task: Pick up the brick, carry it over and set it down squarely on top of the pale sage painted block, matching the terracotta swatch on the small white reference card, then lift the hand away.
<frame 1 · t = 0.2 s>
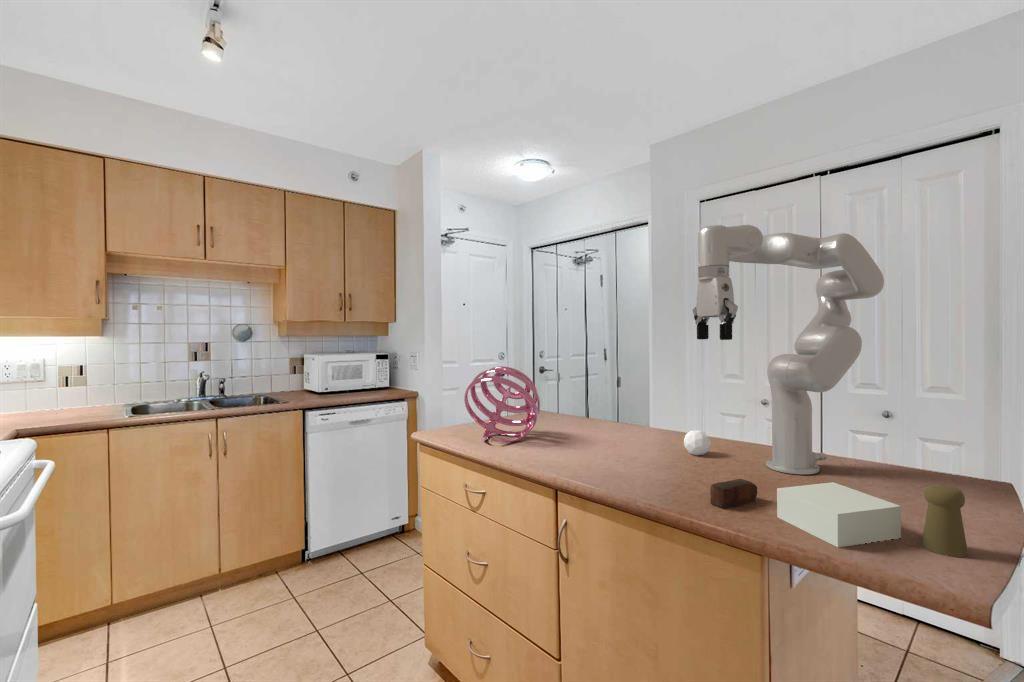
hand: (713, 339, 122), 36 cm above the countertop, tool pointing down, fingers open, 9 cm apart
cork: (944, 550, 81), on the countertop
brick: (734, 504, 105), on the countertop
ball: (697, 455, 145), on the countertop
spiral basket: (505, 439, 172), on the countertop
reference card: (825, 504, 102), on the countertop
sage block: (835, 527, 91), on the countertop
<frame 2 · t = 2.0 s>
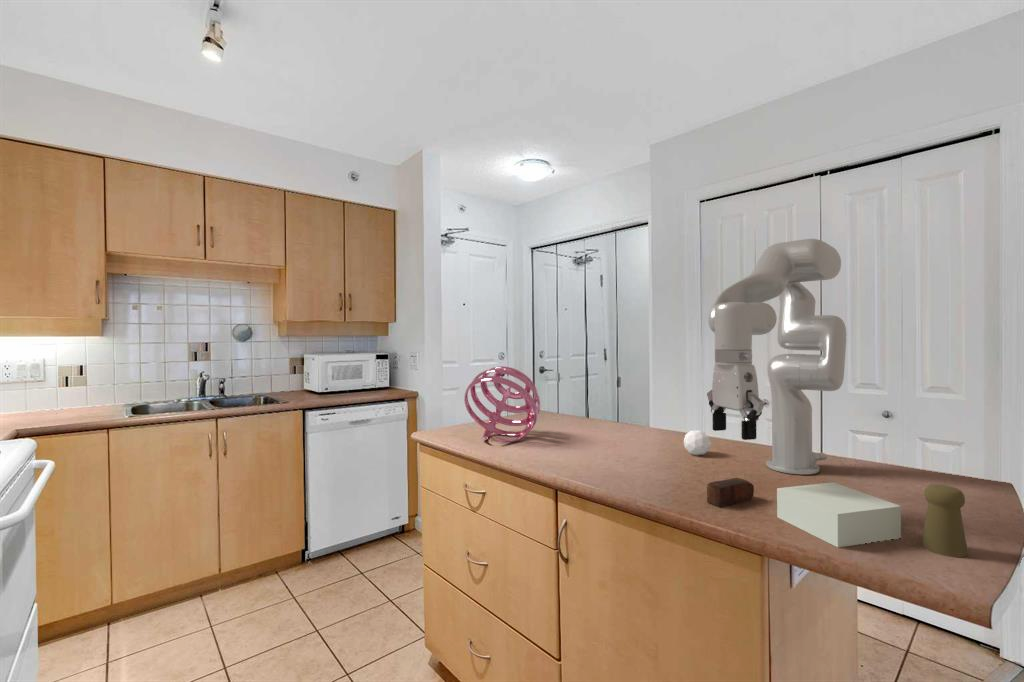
hand: (733, 434, 104), 15 cm above the countertop, tool pointing down, fingers open, 9 cm apart
nothing on the countertop moved.
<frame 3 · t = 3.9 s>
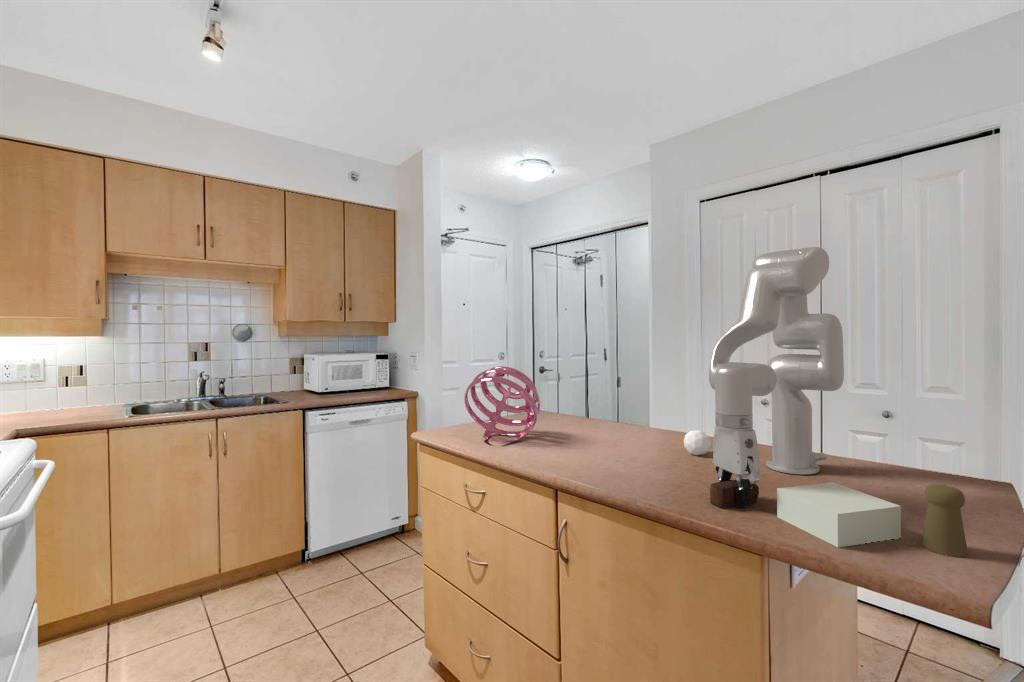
hand: (734, 501, 104), 0 cm above the countertop, tool pointing down, fingers open, 4 cm apart
brick: (734, 504, 105), on the countertop
everything else where it was.
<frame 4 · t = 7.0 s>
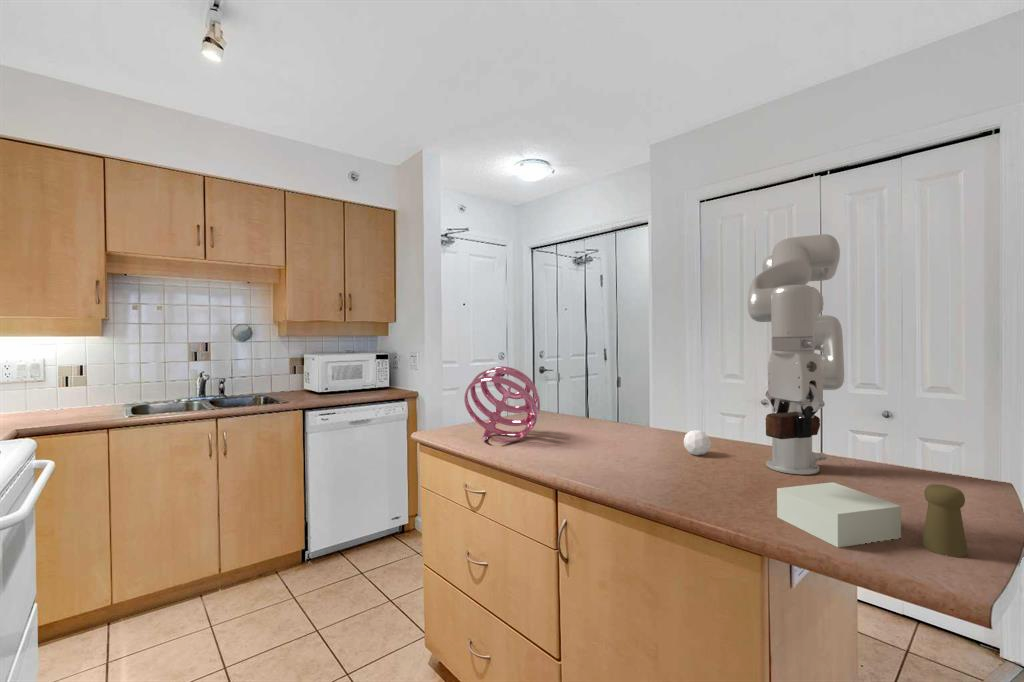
hand: (793, 433, 96), 17 cm above the countertop, tool pointing down, fingers closed on brick, 4 cm apart
brick: (792, 436, 96), point 17 cm above the countertop, touching gripper
everything else where it was.
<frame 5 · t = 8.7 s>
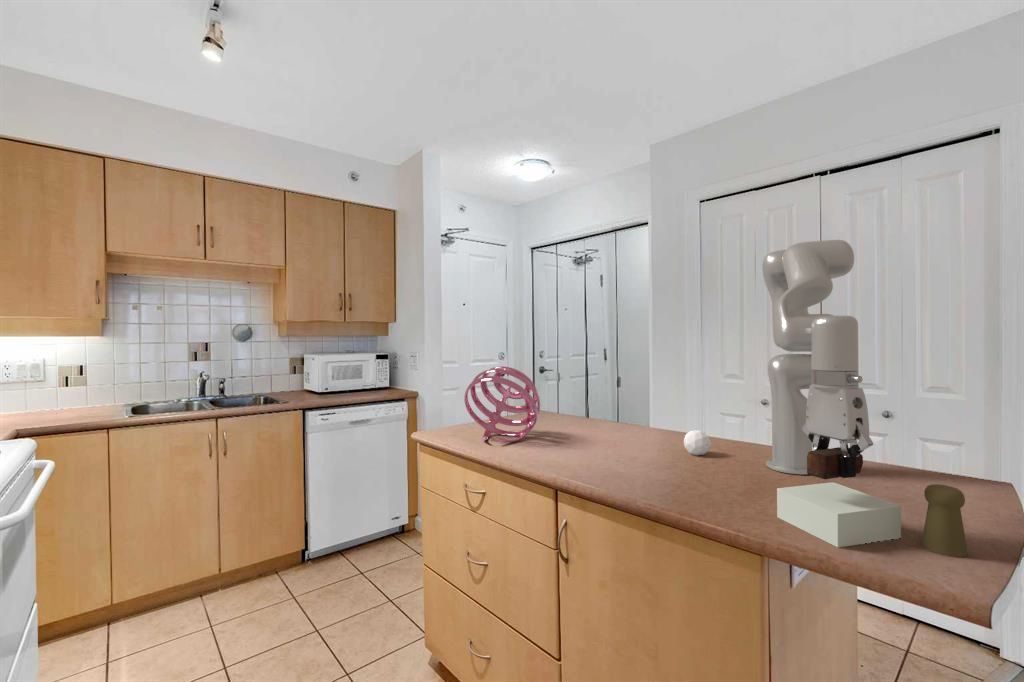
hand: (835, 472, 91), 11 cm above the countertop, tool pointing down, fingers closed on brick, 4 cm apart
brick: (835, 475, 91), point 10 cm above the countertop, touching gripper
everything else where it was.
when the fingers open (8 cm above the countertop, at t = 10.0 s): brick drops 1 cm, resting on sage block.
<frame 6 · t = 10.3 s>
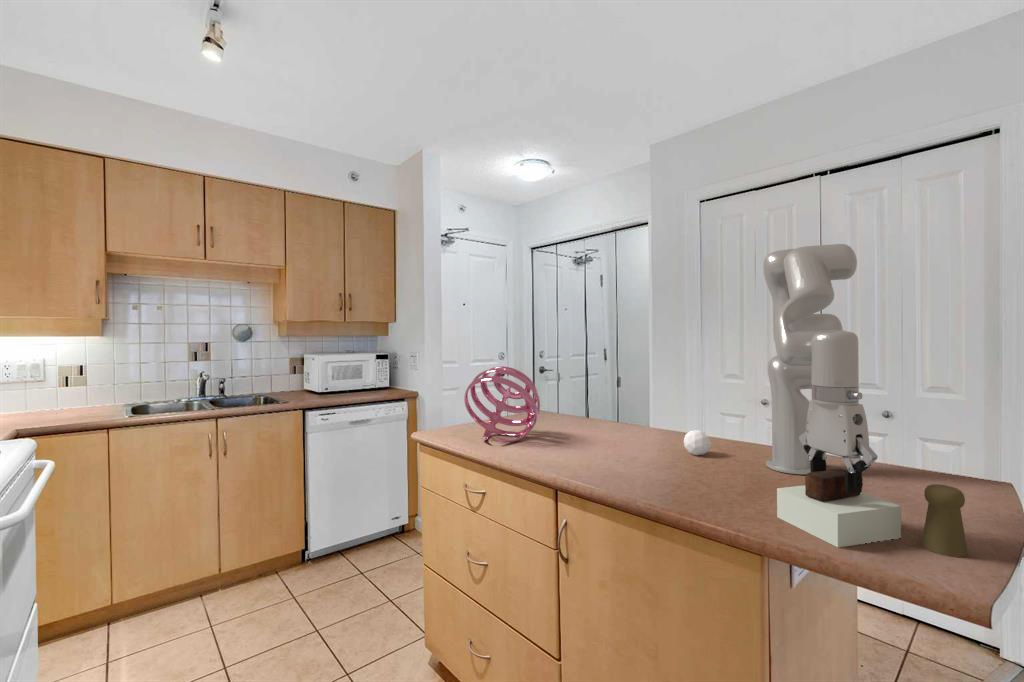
hand: (835, 485, 91), 8 cm above the countertop, tool pointing down, fingers open, 7 cm apart
brick: (833, 497, 91), point 6 cm above the countertop, touching sage block
everything else where it was.
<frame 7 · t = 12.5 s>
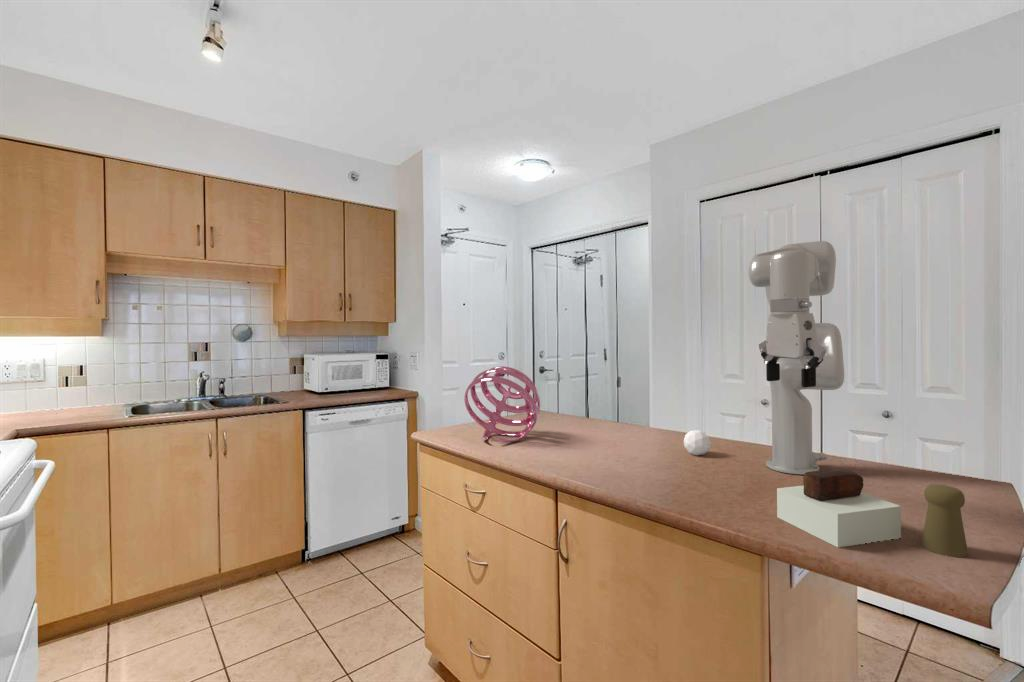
hand: (790, 383, 105), 27 cm above the countertop, tool pointing down, fingers open, 9 cm apart
nothing on the countertop moved.
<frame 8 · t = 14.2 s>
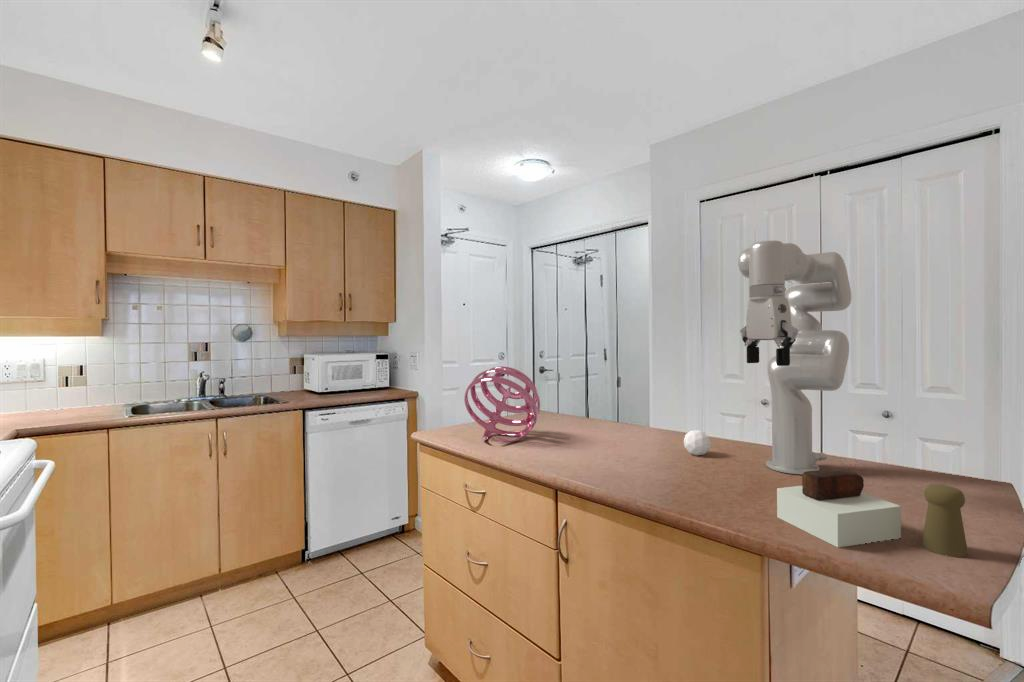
hand: (767, 364, 113), 30 cm above the countertop, tool pointing down, fingers open, 9 cm apart
nothing on the countertop moved.
at the end: brick inside the target area on the sage block (0.6 cm from its centre), point 5.8 cm above the sage block's base; brick tilted 0°; the gripper is holding nothing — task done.
